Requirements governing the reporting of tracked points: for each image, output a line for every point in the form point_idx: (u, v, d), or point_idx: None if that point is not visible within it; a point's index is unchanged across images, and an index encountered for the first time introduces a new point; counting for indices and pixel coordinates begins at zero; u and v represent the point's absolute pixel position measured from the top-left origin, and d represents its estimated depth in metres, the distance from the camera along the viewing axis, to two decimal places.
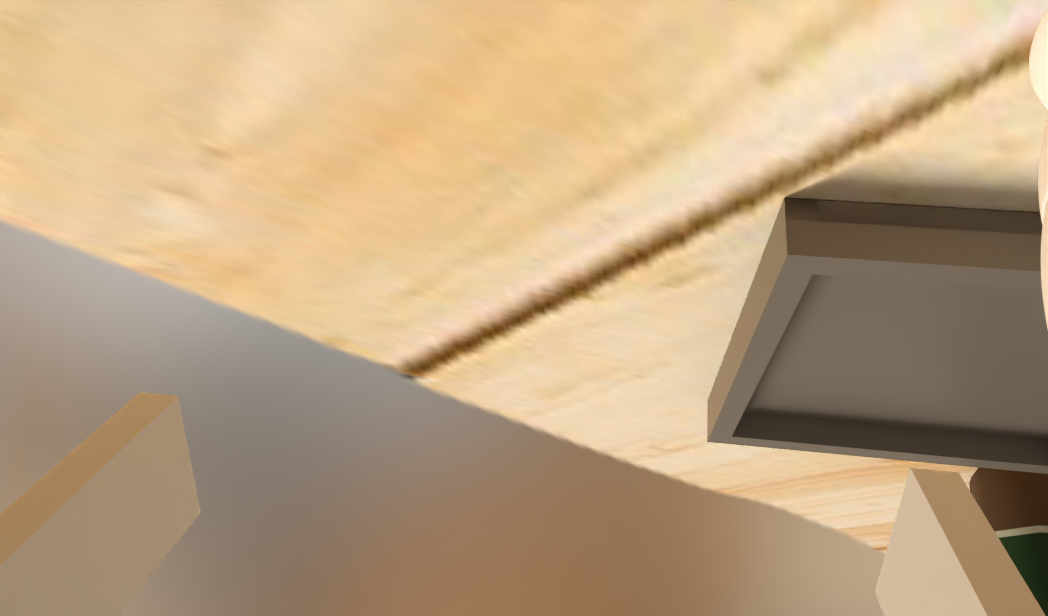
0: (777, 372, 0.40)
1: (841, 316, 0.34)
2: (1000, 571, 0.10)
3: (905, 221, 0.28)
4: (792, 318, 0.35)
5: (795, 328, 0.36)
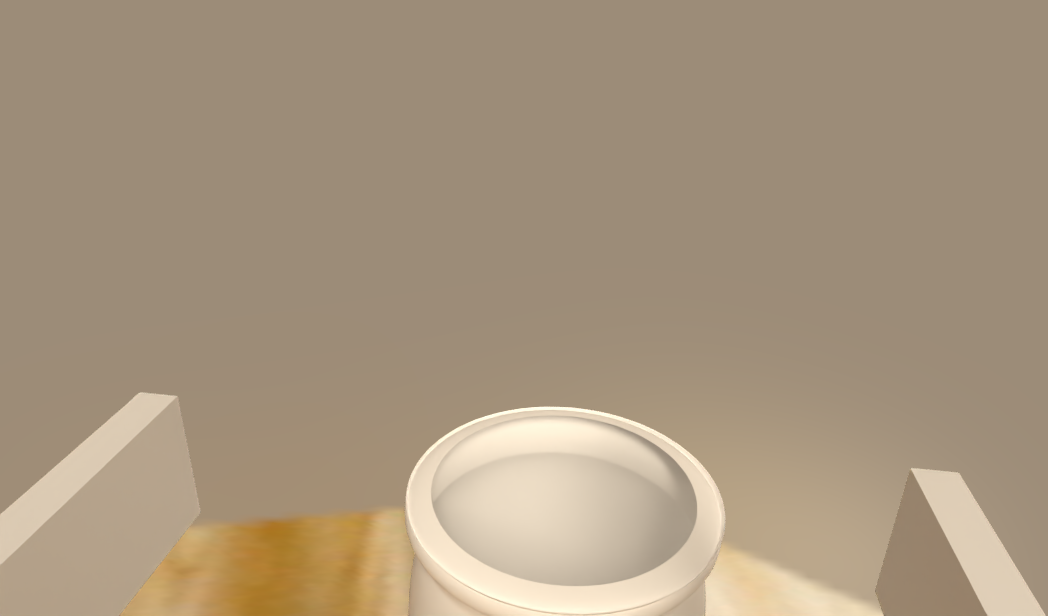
0: None
1: None
2: (1000, 571, 0.10)
3: None
4: None
5: None
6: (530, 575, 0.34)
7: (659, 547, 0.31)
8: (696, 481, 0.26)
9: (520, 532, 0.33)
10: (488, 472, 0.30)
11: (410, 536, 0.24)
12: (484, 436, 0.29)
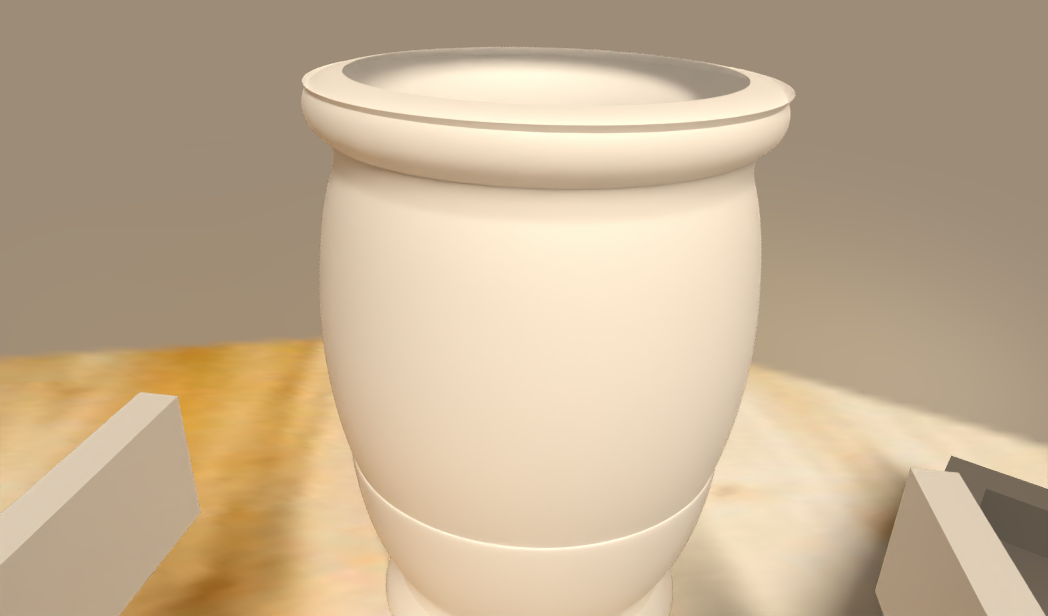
0: None
1: None
2: (1000, 571, 0.10)
3: None
4: None
5: None
6: None
7: None
8: (744, 71, 0.17)
9: None
10: None
11: (304, 104, 0.15)
12: (434, 77, 0.21)
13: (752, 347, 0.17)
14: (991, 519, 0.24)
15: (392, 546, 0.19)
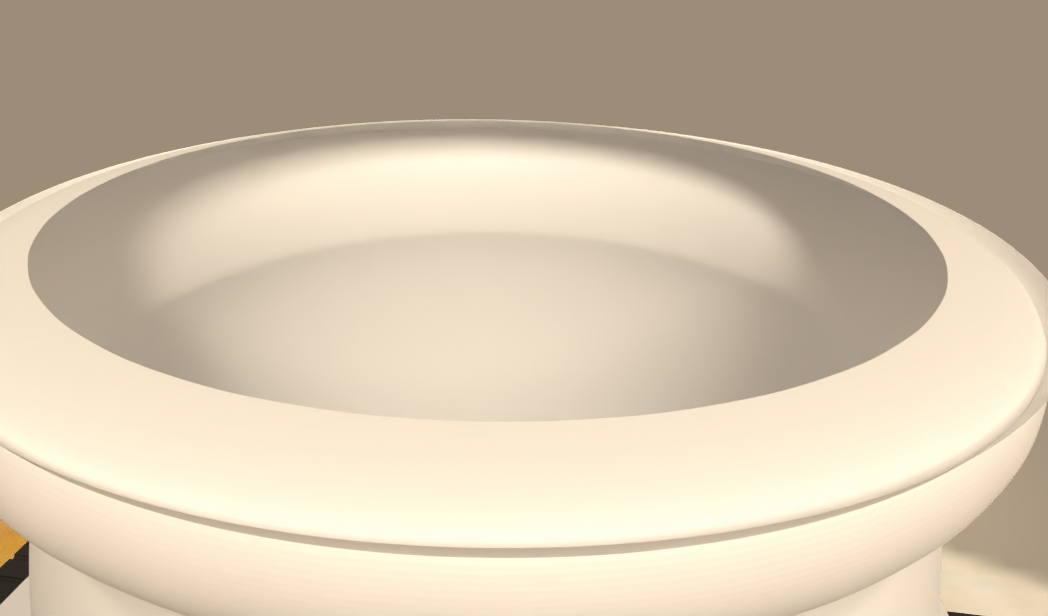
0: None
1: None
2: None
3: None
4: None
5: None
6: None
7: None
8: (893, 196, 0.09)
9: None
10: (348, 276, 0.13)
11: None
12: (324, 172, 0.12)
13: None
14: None
15: None
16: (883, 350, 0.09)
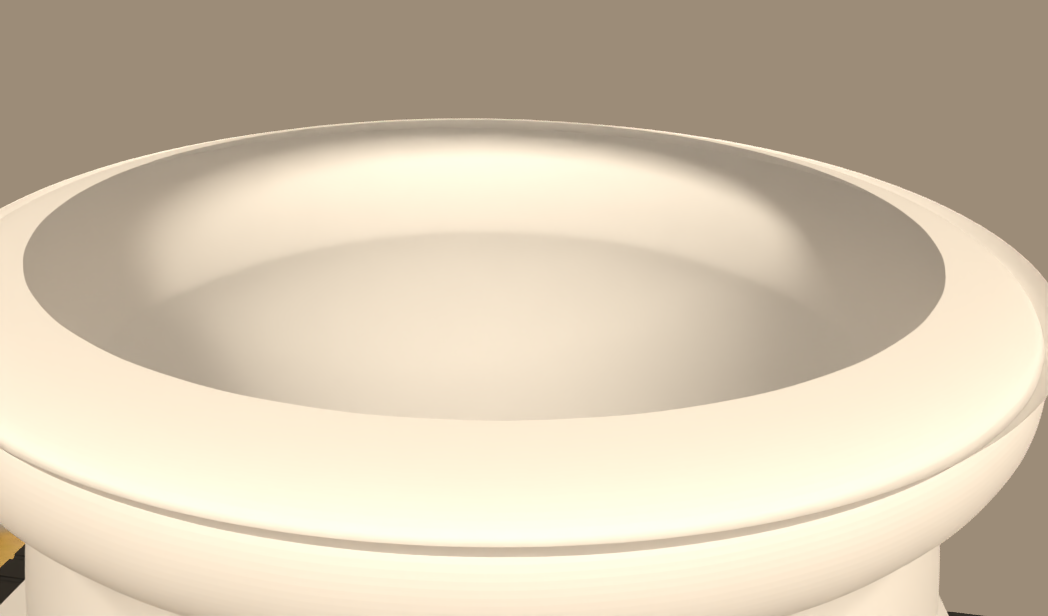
0: None
1: None
2: None
3: None
4: None
5: None
6: None
7: None
8: (892, 196, 0.09)
9: None
10: (346, 276, 0.13)
11: None
12: (322, 171, 0.12)
13: None
14: None
15: None
16: (881, 350, 0.09)
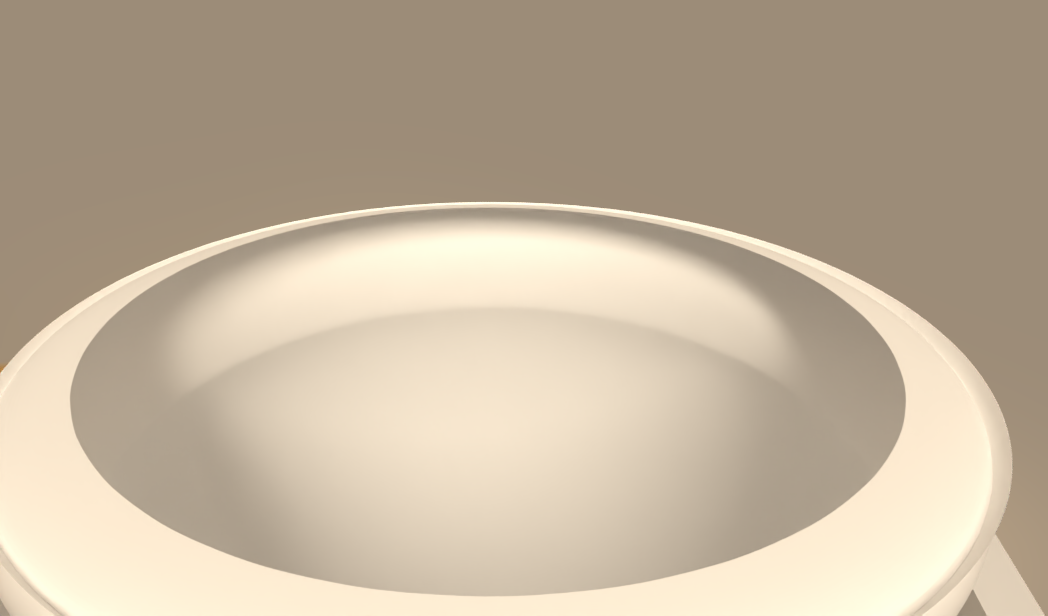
0: None
1: None
2: (999, 570, 0.10)
3: None
4: None
5: None
6: (468, 581, 0.17)
7: (736, 514, 0.14)
8: (865, 305, 0.09)
9: (445, 493, 0.16)
10: (356, 351, 0.14)
11: None
12: (333, 258, 0.13)
13: None
14: None
15: None
16: (859, 443, 0.10)
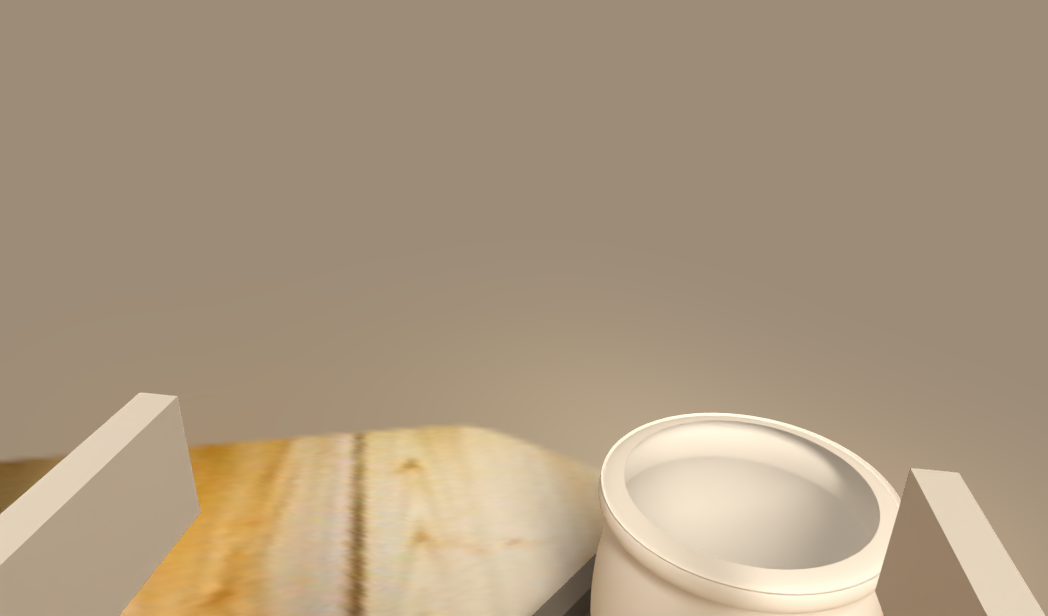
0: None
1: None
2: (1000, 571, 0.10)
3: None
4: None
5: None
6: None
7: (814, 546, 0.32)
8: (869, 478, 0.28)
9: (673, 534, 0.35)
10: (652, 475, 0.32)
11: (615, 528, 0.26)
12: (651, 440, 0.31)
13: None
14: None
15: None
16: (867, 524, 0.28)
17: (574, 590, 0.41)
